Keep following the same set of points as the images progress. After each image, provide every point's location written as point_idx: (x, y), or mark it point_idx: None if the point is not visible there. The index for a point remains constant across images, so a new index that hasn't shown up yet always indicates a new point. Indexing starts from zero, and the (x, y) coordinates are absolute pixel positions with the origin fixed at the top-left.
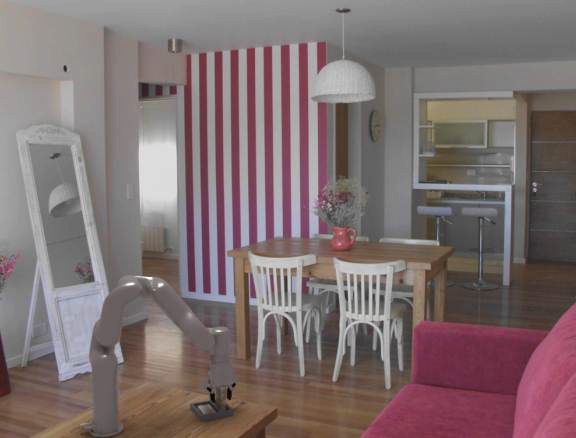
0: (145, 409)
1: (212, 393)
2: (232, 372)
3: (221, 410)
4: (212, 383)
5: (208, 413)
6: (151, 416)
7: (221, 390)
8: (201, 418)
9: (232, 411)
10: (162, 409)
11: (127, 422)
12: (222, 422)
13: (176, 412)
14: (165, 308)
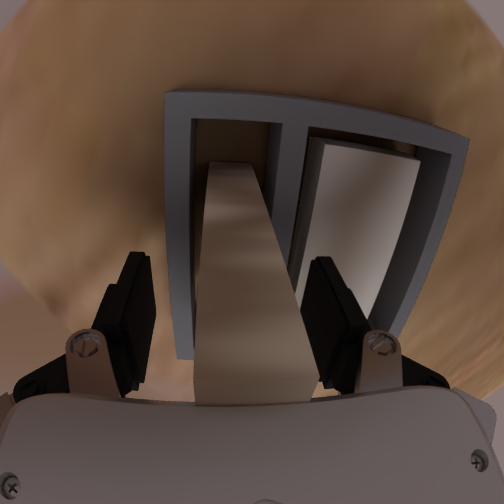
0: (463, 366)
1: (373, 333)
2: None
3: (256, 179)
4: (481, 438)
5: (385, 169)
6: (495, 314)
7: (297, 319)
8: (450, 131)
9: (174, 92)
10: (436, 358)
11: None
12: (297, 50)
13: (426, 321)
14: None
